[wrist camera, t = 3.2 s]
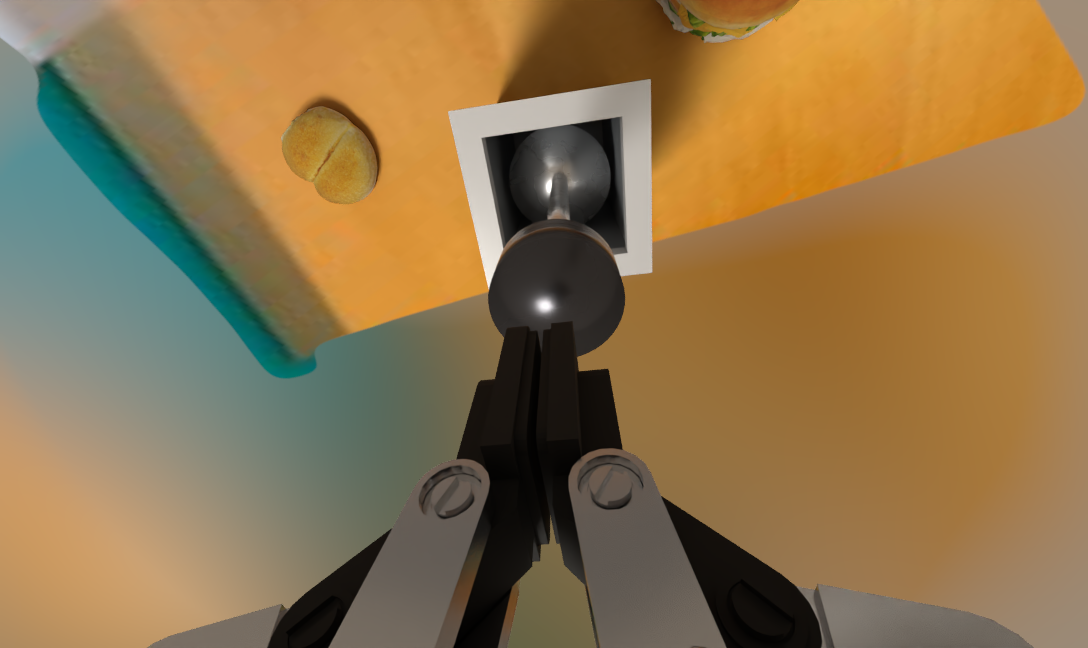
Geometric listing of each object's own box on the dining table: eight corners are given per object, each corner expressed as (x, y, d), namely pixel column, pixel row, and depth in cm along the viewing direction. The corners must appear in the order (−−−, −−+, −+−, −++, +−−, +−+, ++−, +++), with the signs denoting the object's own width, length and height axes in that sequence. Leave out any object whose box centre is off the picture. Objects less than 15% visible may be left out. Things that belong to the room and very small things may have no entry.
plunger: (606, 115, 29) (680, 162, 11) (612, 221, 32) (674, 385, 14) (501, 132, 29) (407, 200, 12) (519, 232, 33) (469, 402, 15)
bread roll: (353, 214, 45) (335, 225, 42) (281, 149, 42) (256, 155, 38) (398, 163, 42) (383, 170, 39) (325, 89, 39) (301, 89, 35)
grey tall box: (613, 82, 38) (650, 79, 22) (619, 205, 43) (652, 272, 27) (494, 102, 39) (448, 111, 23) (514, 219, 44) (489, 290, 29)
